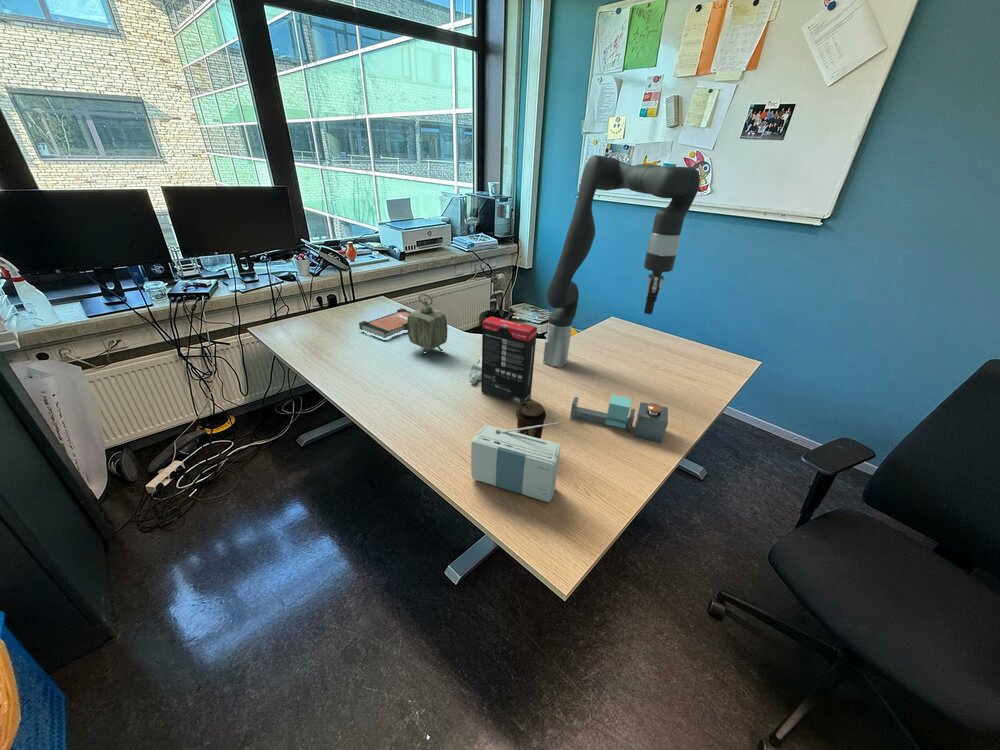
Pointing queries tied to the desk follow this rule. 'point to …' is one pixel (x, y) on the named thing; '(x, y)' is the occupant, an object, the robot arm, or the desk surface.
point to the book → (387, 324)
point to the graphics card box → (507, 359)
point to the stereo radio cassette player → (515, 461)
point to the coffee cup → (530, 418)
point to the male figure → (476, 371)
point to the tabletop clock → (427, 326)
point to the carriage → (618, 411)
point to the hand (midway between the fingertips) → (647, 313)
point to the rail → (597, 416)
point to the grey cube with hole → (650, 424)
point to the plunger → (654, 408)
